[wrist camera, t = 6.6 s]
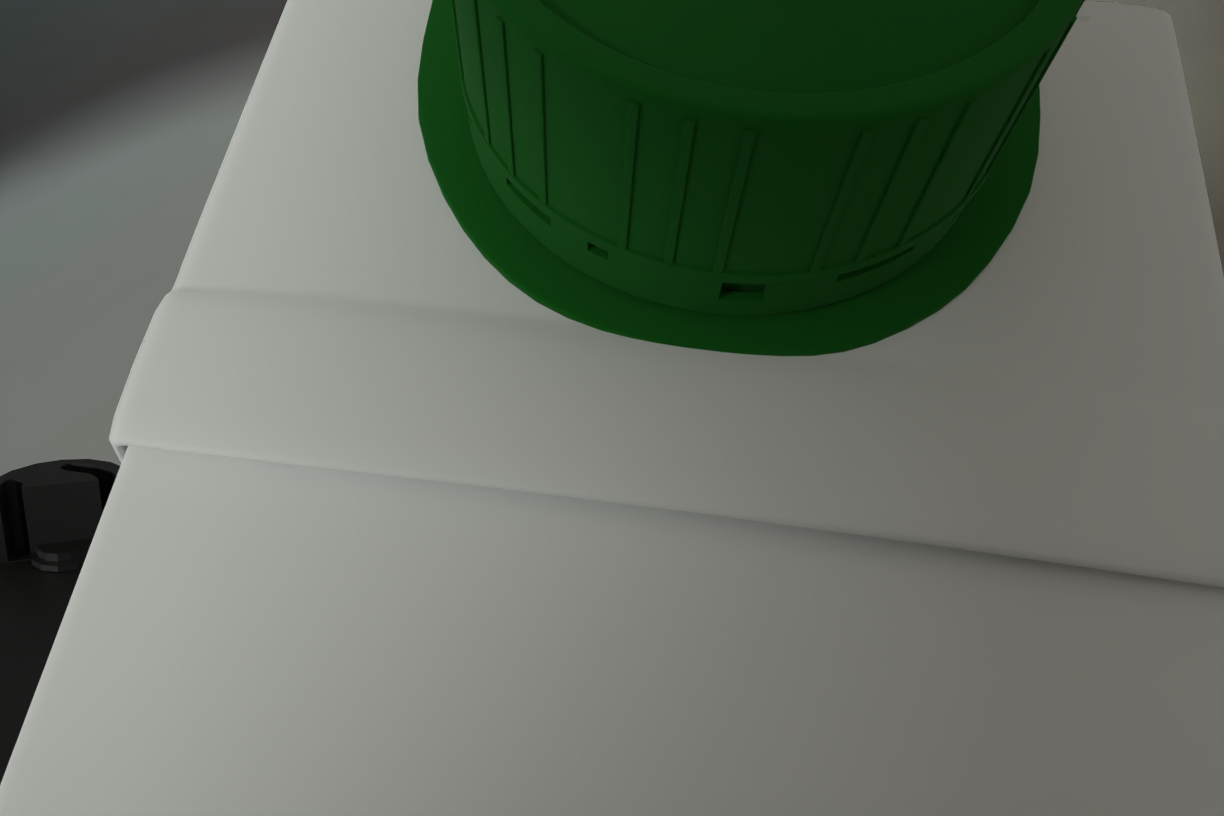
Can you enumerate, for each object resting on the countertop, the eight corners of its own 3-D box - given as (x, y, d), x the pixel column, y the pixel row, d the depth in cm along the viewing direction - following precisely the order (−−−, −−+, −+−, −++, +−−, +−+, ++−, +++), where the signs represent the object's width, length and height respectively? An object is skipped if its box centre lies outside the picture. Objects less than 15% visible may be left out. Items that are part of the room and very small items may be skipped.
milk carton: (805, 556, 25) (1421, -286, 7) (789, 957, 21) (2175, 1544, 3) (467, 511, 25) (181, -421, 7) (389, 902, 21) (-748, 1108, 3)
